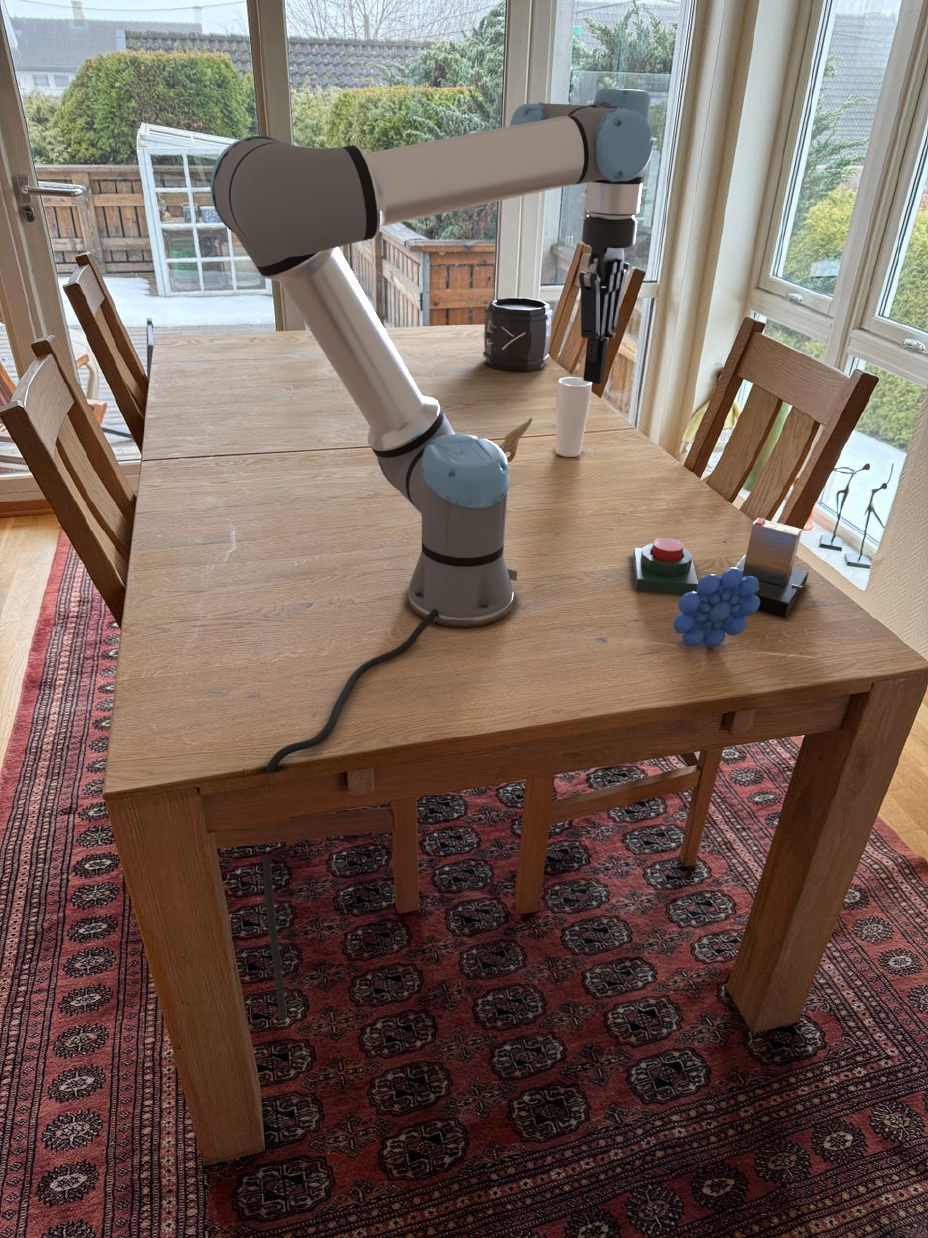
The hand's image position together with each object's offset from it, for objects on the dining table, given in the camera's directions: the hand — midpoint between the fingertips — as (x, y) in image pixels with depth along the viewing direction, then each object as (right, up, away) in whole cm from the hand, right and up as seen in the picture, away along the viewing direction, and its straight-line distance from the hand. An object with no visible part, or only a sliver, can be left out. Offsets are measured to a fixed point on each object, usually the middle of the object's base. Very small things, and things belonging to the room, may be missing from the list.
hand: (593, 381), depth 141 cm
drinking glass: (+2, -3, +48) cm, 48 cm away
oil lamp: (-18, -7, +40) cm, 44 cm away
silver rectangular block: (+26, -30, -3) cm, 40 cm away
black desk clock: (-6, +32, +106) cm, 111 cm away
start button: (+11, -27, 0) cm, 29 cm away
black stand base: (+26, -33, -1) cm, 41 cm away
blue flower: (+14, -40, -15) cm, 45 cm away
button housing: (+11, -30, +2) cm, 32 cm away
